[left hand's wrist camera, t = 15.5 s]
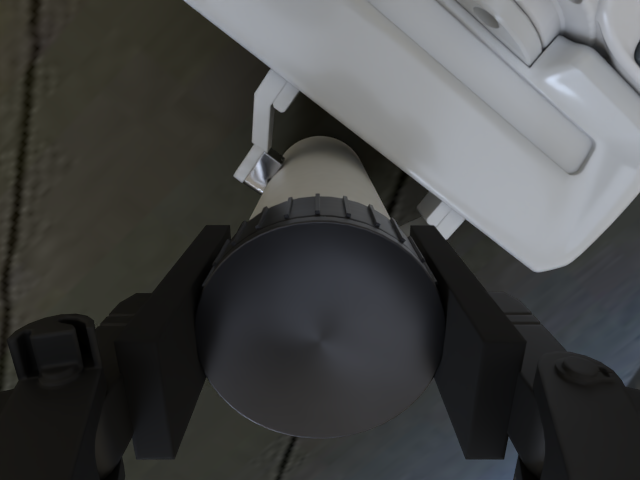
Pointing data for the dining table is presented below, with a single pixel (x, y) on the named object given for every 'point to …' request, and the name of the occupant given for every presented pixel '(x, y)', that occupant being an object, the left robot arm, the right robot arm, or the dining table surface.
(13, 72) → the dining table surface
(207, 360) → the lid
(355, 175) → the jar
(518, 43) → the right robot arm
